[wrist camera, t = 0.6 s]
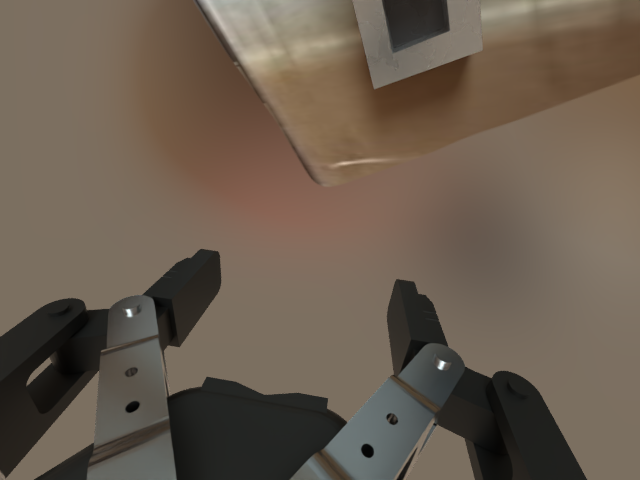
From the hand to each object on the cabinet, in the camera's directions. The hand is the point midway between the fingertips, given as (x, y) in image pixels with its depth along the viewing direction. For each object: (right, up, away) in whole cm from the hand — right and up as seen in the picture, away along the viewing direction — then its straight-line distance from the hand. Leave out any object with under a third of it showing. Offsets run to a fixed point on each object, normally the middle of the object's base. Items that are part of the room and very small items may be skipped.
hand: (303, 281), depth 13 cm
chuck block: (+9, +23, +14) cm, 28 cm away
